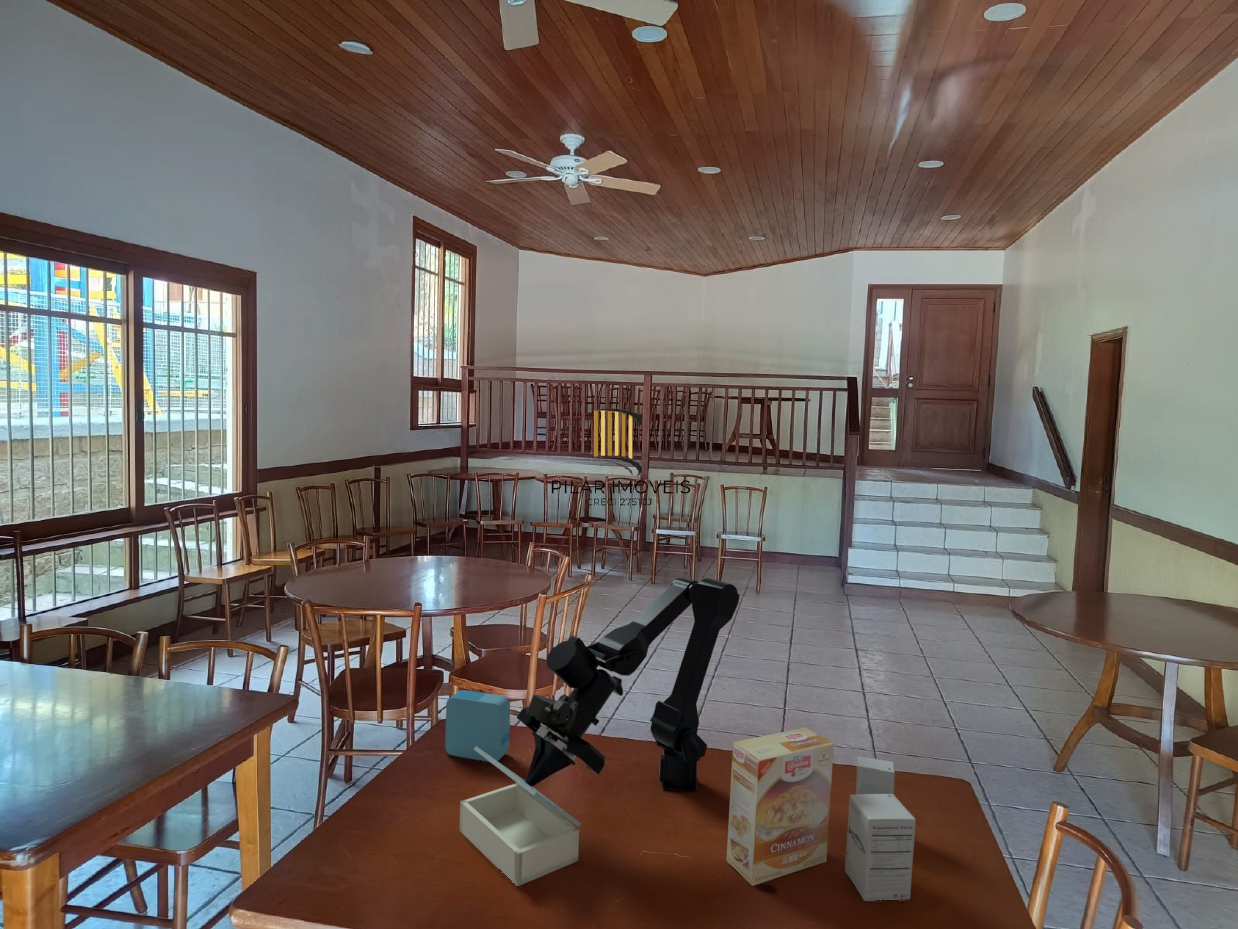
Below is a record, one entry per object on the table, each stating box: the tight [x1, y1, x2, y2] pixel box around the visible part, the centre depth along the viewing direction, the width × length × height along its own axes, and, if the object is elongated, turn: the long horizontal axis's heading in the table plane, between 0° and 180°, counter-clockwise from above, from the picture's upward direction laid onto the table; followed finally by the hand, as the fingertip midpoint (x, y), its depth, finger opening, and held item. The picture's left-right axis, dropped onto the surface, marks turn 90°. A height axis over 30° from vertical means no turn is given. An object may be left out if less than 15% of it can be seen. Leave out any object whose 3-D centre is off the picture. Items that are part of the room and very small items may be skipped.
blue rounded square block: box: [445, 689, 511, 763], centre depth 151 cm, size 12×4×12 cm, turn 74°
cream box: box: [459, 782, 580, 887], centre depth 121 cm, size 11×18×5 cm, turn 39°
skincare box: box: [855, 755, 896, 795], centre depth 128 cm, size 6×4×12 cm
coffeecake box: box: [726, 726, 835, 887], centre depth 118 cm, size 15×7×20 cm, turn 117°
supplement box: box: [844, 793, 917, 902], centre depth 113 cm, size 7×7×13 cm
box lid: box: [474, 746, 582, 828], centre depth 121 cm, size 11×18×1 cm
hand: (528, 785), depth 121 cm, fingers closed, pressing on box lid
